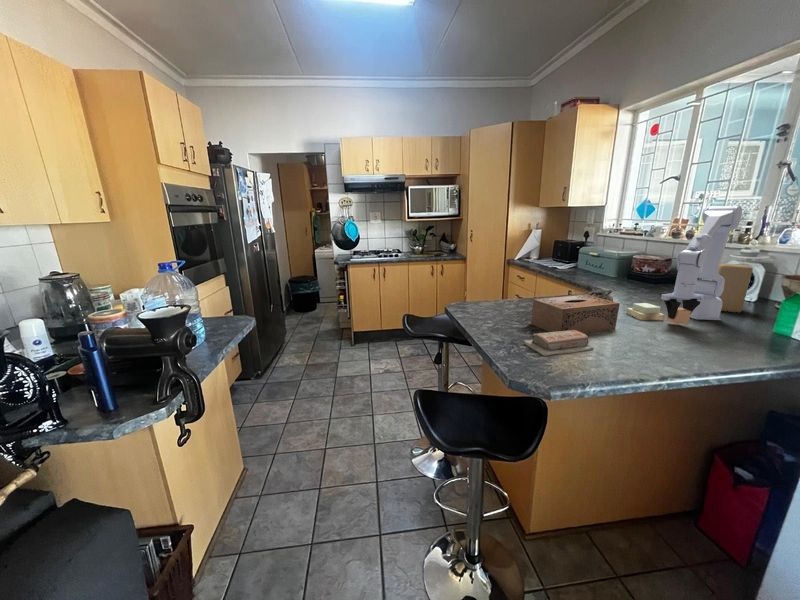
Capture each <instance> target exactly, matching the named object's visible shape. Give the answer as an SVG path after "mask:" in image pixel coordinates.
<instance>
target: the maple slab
mask: <svg viewBox="0 0 800 600" xmlns="http://www.w3.org/2000/svg"><path fill="white" fill-rule="evenodd" d="M625 314H626V315H628V316H630V315H631V316H630V317H632V316H633V317H632V318H634V317H635V318H634V319H637V320H639V321H664V317H665V314H664V313H662V312H660V313H651V314H644V313H641V312H638V311H636V310H633V309H632V307H627V308H626V312H625Z"/></svg>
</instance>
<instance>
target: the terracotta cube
mask: <svg viewBox="0 0 800 600" xmlns="http://www.w3.org/2000/svg"><path fill="white" fill-rule="evenodd" d="M690 314H691V311H690V310H687V309H684V308H683V307H678V310H677V312H676V316H675V318H674V319H671V318H668V315H667V317H666V321H668V322H670V323H673V324H675V325H676V324H678V325H680V324H681V325H682V324H683V325H689V322H690V318H691V317H690Z"/></svg>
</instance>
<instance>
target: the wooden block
mask: <svg viewBox="0 0 800 600" xmlns="http://www.w3.org/2000/svg"><path fill="white" fill-rule="evenodd" d="M753 270H754V269H753V267H752V266H750V265H747V264H740V263H739V264H738V263H724V262H722V263H721V262H720V266H719V269H718V273H719V274H720V275H721V276H722V277H723V278H724V279H725V283H724V290H723V293H722V294H721V296H719V298H720V299H721V300H722V308H721V312H727V311H728V313H736V312H737V313H741V312H743V311H742V310H743V308H744V307H743V306H744V304H745V300H746V297H747V296H746V295H747V292H748V289H749V284H750V281H751V277H752V275H753V274H752V273H753ZM711 281H716V280H712V279H711Z"/></svg>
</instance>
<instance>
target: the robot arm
mask: <svg viewBox="0 0 800 600" xmlns="http://www.w3.org/2000/svg"><path fill="white" fill-rule="evenodd" d="M742 215H743V207H742V206H741V205H726V206H725V205H724V206H722V205H721V206H720V205H717V206H710V205H708V206H706V208H705V209H703V213H702V217H701V220H702V224H703V225H702V227H701V229H700V232H699V234H696V235H693V237H692V239H691V240H690V242H689V243H688V245H687V246H686V248H685V249H684V250H681V251H680V252H679V254H678V255H677V256H678V257H677V259H676V263H677V266H676V270H677V275H676V279H675V284H674V289H673V292H671V293H663V294H662V293H661V297H660V300H663V302H664V304H665V307H666V311H667V316H668V318H671V319H674V318H675V316H676V312H677V310H678V308H680V306H681V304H682V308H684V309H687V310H690V311H691V314H690V318H691V319H694V320H703V321H706V320H708V321H710V320H711V321H721V320H722V318H720V316H721V312H722V311H721V308H722V300H721V299H720V298H719V296H721V294H722V293H723V290H724V283H725V279H724V278H723V277H722V276H721V275H720V274H719V273H718V269H719V266H720V263H721V261H722V259H723V255H724V252H725V248H726V245H727V242H728V238H729V236H730V233H731V232H732V231H733V230H736V229H737V228H738V226H739V225H740V222H741V218H742ZM700 268H701V271H700ZM712 280H716V281H712ZM679 301H682V302H679Z"/></svg>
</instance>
